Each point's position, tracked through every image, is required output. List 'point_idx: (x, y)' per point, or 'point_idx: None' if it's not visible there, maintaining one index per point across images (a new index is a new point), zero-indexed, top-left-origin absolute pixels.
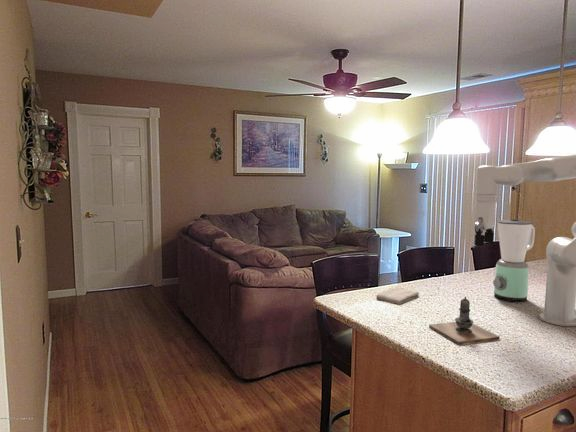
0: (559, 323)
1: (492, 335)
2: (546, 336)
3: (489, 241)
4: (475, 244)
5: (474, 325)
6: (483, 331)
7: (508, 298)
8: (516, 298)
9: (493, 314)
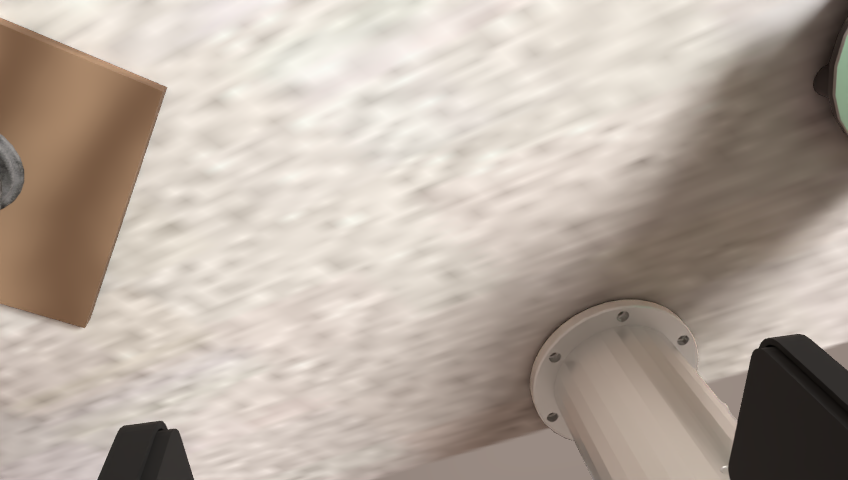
0: (534, 404)
1: (65, 300)
2: (338, 414)
3: (744, 448)
4: (127, 443)
5: (119, 167)
6: (74, 246)
7: (829, 78)
8: (839, 124)
9: (476, 121)
